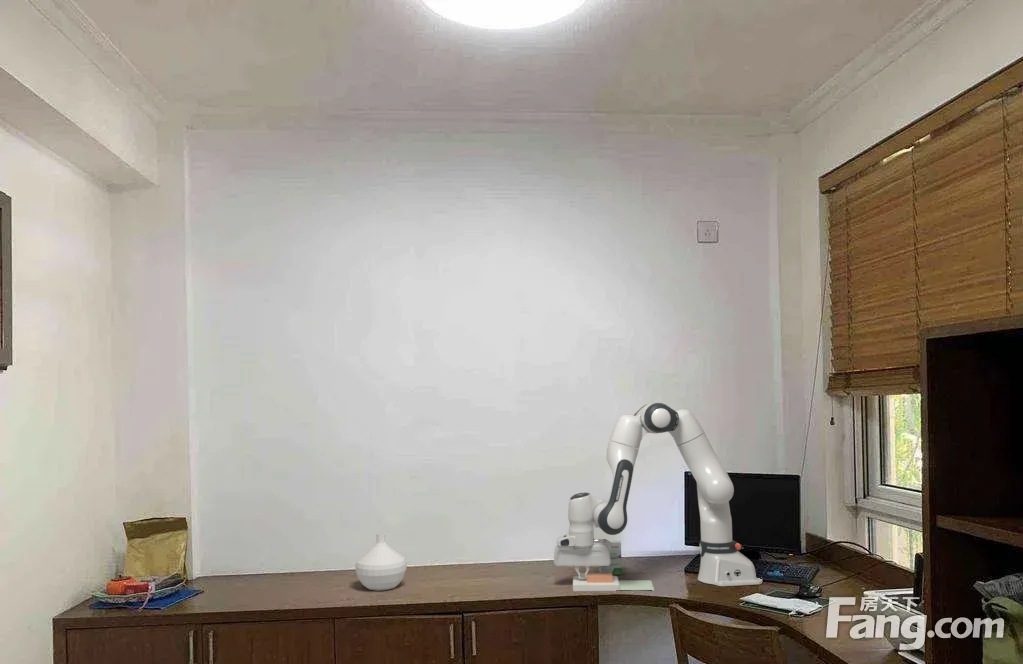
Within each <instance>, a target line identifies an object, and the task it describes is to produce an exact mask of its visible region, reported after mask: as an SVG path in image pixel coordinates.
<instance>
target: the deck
mask: <svg viewBox="0 0 1023 664" xmlns="http://www.w3.org/2000/svg"><path fill="white" fill-rule="evenodd" d="M612 576H613V583H587V579H579V576H578V575H574V576H572V591H573V592H617V591H616V590H619V582H618V581H619V577H618V575H612Z"/></svg>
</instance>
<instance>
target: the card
mask: <svg viewBox="0 0 1023 664" xmlns="http://www.w3.org/2000/svg"><path fill="white" fill-rule="evenodd" d="M613 576H614V575H612V573H599V572H588V573H587V583H613Z"/></svg>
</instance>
